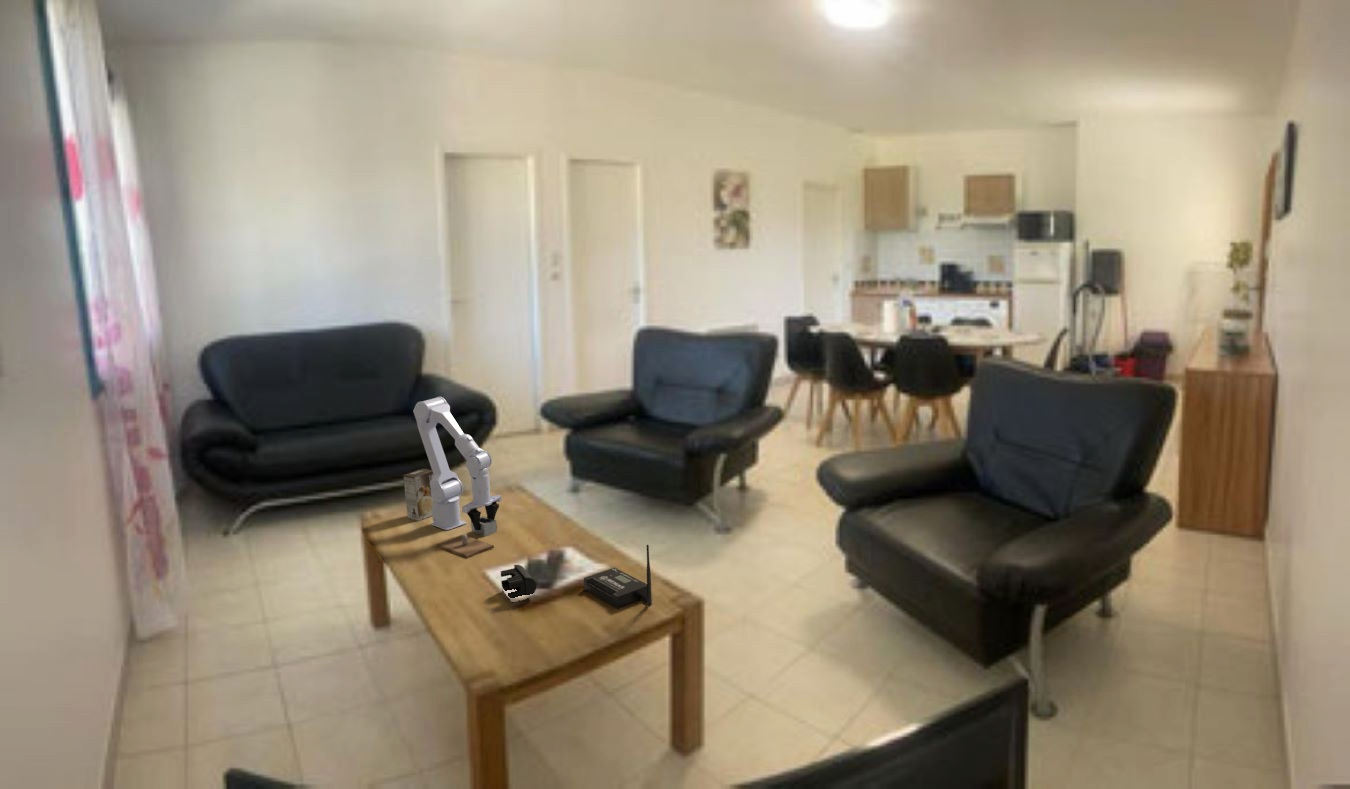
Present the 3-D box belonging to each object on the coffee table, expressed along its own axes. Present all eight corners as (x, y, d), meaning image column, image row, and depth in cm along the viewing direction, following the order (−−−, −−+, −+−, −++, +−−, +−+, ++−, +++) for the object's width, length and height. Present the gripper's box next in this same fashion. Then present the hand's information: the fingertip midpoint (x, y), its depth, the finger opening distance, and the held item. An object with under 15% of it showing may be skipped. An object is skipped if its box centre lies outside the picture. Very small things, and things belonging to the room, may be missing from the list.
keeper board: (437, 546, 255) (436, 534, 254) (463, 536, 262) (462, 525, 261) (467, 558, 245) (466, 545, 244) (493, 547, 252) (492, 535, 251)
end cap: (537, 598, 216) (536, 574, 215) (512, 604, 213) (510, 580, 212) (526, 584, 225) (524, 562, 224) (501, 590, 222) (499, 567, 220)
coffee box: (427, 510, 289) (423, 467, 286) (439, 513, 285) (435, 470, 282) (406, 518, 281) (402, 474, 278) (418, 521, 278) (414, 477, 275)
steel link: (471, 531, 266) (470, 520, 266) (484, 527, 270) (483, 516, 269) (484, 536, 262) (483, 524, 261) (497, 531, 266) (496, 520, 265)
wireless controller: (579, 593, 219) (575, 534, 216) (620, 578, 228) (617, 521, 225) (621, 618, 204) (618, 555, 201) (663, 601, 213) (661, 540, 210)
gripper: (470, 496, 255) (473, 536, 258) (506, 484, 266) (508, 523, 269) (456, 492, 260) (460, 531, 262) (492, 481, 270) (495, 519, 273)
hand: (484, 527), depth 266 cm, fingers closed on steel link, 5 cm apart
